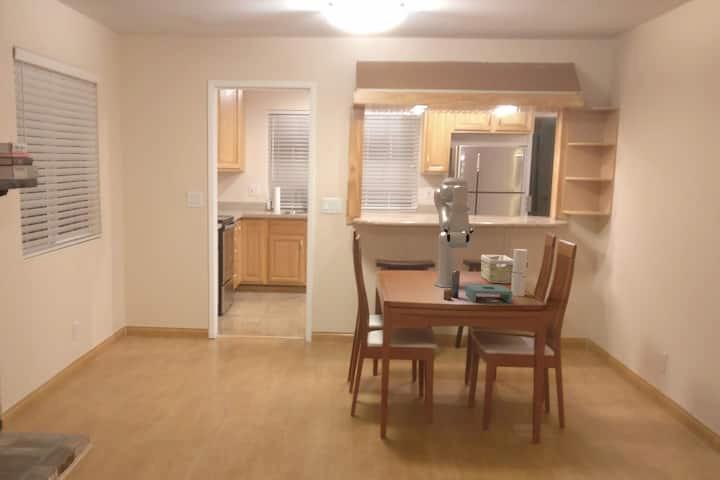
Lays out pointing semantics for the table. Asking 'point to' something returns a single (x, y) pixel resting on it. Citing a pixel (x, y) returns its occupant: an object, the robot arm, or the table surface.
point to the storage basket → (496, 268)
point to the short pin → (447, 294)
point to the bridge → (488, 291)
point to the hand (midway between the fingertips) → (457, 242)
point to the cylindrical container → (519, 272)
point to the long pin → (455, 283)
